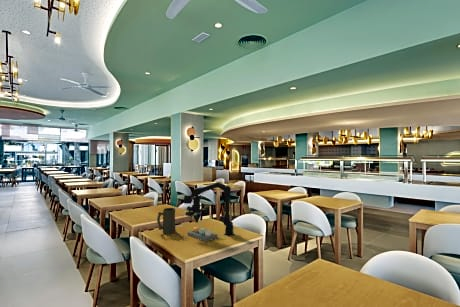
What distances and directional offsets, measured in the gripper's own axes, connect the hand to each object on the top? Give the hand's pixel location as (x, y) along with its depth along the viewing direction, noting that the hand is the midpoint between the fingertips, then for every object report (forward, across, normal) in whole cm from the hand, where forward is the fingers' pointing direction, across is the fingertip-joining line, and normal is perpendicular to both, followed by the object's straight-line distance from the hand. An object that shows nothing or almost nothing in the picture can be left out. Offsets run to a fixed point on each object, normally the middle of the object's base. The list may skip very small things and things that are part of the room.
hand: (196, 222), depth 203 cm
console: (+10, 0, +7) cm, 12 cm away
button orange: (+8, 0, 0) cm, 8 cm away
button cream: (+8, 0, +14) cm, 16 cm away
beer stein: (+10, +14, -22) cm, 28 cm away
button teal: (+8, 0, +7) cm, 11 cm away
